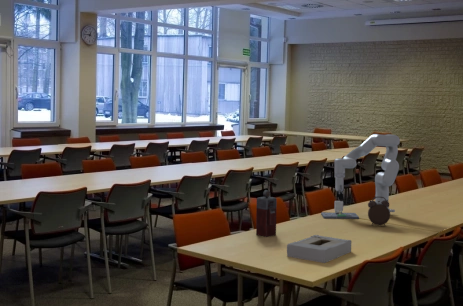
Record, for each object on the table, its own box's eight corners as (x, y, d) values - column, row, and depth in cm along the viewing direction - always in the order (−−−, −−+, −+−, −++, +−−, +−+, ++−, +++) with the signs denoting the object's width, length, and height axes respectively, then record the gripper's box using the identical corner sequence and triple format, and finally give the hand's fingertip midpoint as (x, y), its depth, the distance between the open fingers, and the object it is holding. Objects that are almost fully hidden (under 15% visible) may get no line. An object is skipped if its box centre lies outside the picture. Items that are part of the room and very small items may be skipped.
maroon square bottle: (269, 237, 377) (269, 192, 375) (255, 234, 385) (256, 190, 383) (278, 235, 383) (279, 190, 381) (265, 232, 391) (266, 188, 389)
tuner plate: (354, 214, 457) (355, 211, 457) (358, 218, 441) (358, 215, 441) (321, 214, 458) (321, 210, 458) (323, 218, 442) (323, 214, 442)
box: (314, 246, 357) (286, 257, 331) (315, 233, 356) (286, 242, 330) (351, 253, 343) (325, 264, 317) (352, 239, 343) (325, 249, 317)
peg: (334, 212, 457) (334, 200, 456) (342, 212, 457) (342, 200, 456) (336, 215, 444) (336, 203, 443) (344, 215, 444) (345, 203, 443)
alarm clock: (388, 225, 419) (389, 196, 418) (390, 227, 412) (391, 197, 410) (366, 224, 421) (367, 195, 419) (368, 226, 413) (368, 197, 412)
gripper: (332, 174, 461) (333, 196, 462) (336, 176, 444) (336, 200, 445) (343, 173, 461) (343, 196, 462) (346, 176, 444) (346, 200, 445)
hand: (339, 198), depth 454 cm, fingers open, 9 cm apart
